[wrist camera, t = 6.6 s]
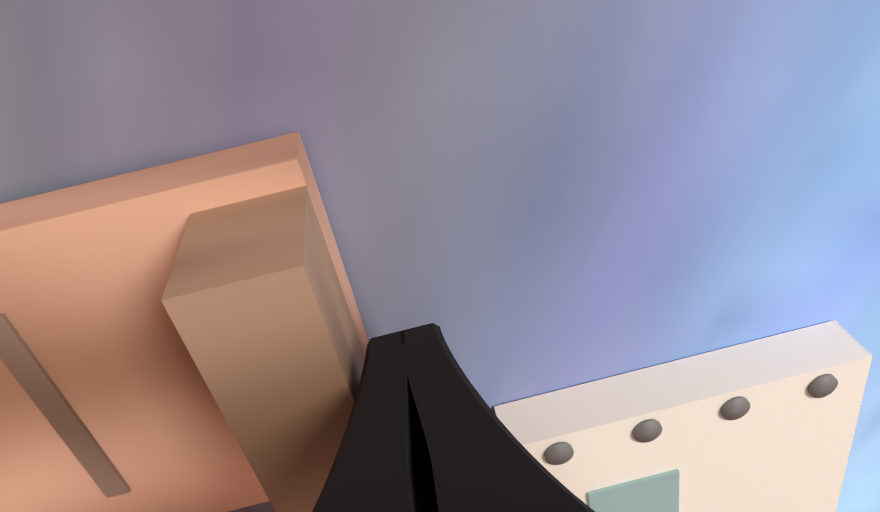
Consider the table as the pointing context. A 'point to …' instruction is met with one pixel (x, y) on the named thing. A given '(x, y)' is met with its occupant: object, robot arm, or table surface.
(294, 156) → the stub
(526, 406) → the stove control panel
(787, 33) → the table surface
